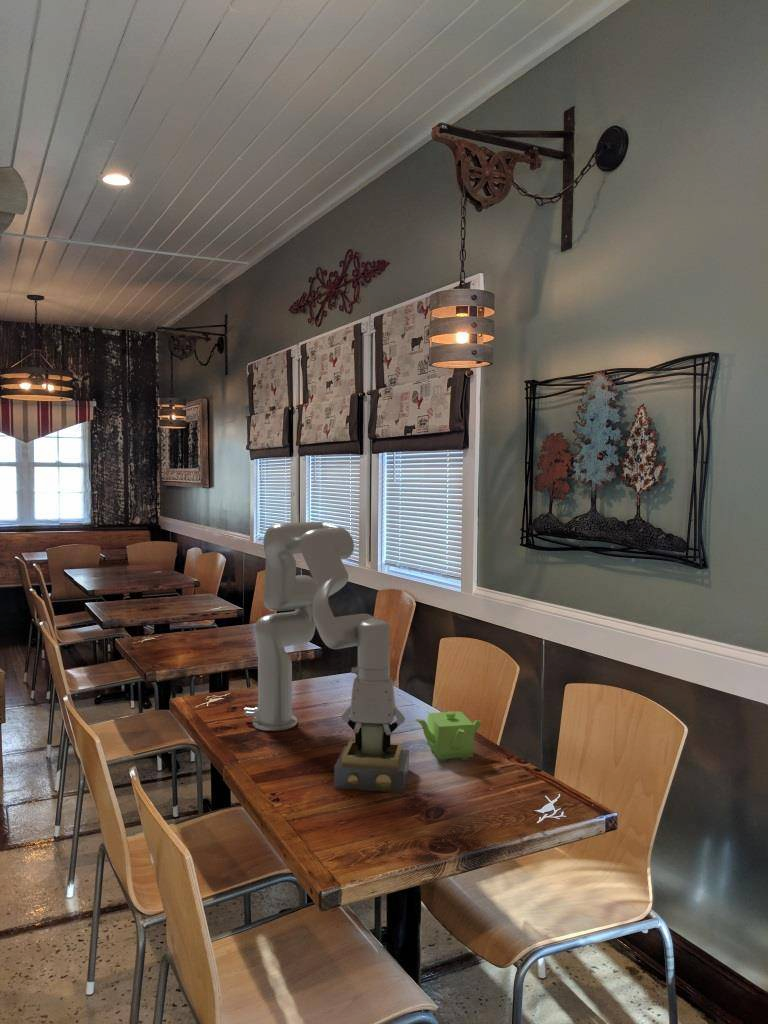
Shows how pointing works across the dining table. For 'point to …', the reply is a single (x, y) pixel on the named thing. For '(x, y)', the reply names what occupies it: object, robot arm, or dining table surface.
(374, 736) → the pale green cup
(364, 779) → the toy stove
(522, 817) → the dining table surface
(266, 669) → the robot arm
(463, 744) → the kettle
